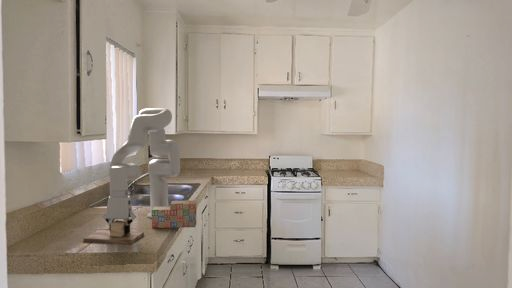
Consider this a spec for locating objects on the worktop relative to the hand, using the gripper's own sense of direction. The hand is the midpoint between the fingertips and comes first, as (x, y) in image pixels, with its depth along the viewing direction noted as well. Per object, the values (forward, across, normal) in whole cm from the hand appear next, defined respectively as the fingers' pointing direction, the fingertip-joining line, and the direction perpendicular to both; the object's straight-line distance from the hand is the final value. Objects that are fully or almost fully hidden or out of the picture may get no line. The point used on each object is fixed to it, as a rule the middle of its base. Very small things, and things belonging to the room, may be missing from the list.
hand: (119, 232), depth 155 cm
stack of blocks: (+3, -18, -21) cm, 28 cm away
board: (+2, +2, +1) cm, 3 cm away
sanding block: (+1, 0, 0) cm, 1 cm away
